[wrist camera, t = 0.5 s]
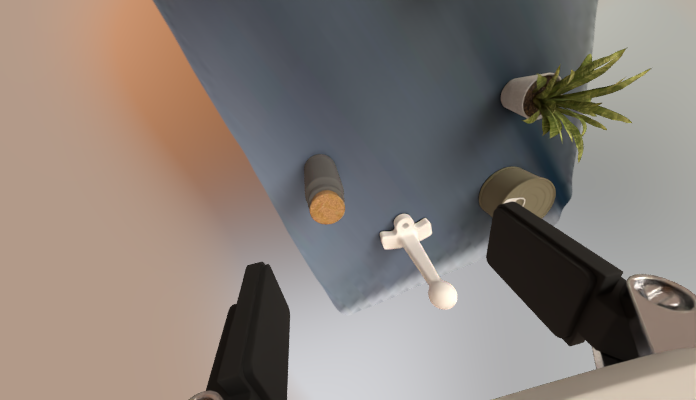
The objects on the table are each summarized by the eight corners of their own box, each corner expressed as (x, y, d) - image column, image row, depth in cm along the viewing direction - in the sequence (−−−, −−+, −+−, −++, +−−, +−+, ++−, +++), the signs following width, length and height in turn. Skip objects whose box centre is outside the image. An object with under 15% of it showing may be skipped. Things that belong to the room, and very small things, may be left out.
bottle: (320, 189, 48) (328, 235, 35) (297, 170, 45) (296, 212, 32) (342, 168, 47) (358, 207, 34) (319, 147, 44) (326, 181, 31)
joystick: (382, 246, 57) (417, 325, 40) (375, 220, 54) (411, 295, 36) (427, 232, 58) (482, 304, 40) (424, 205, 54) (483, 272, 37)
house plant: (546, 125, 50) (644, 149, 35) (480, 147, 49) (553, 180, 35) (557, 44, 42) (685, 33, 28) (481, 69, 42) (571, 70, 28)
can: (512, 215, 60) (535, 232, 54) (469, 212, 57) (489, 229, 51) (538, 168, 54) (567, 181, 48) (491, 162, 52) (516, 175, 46)
